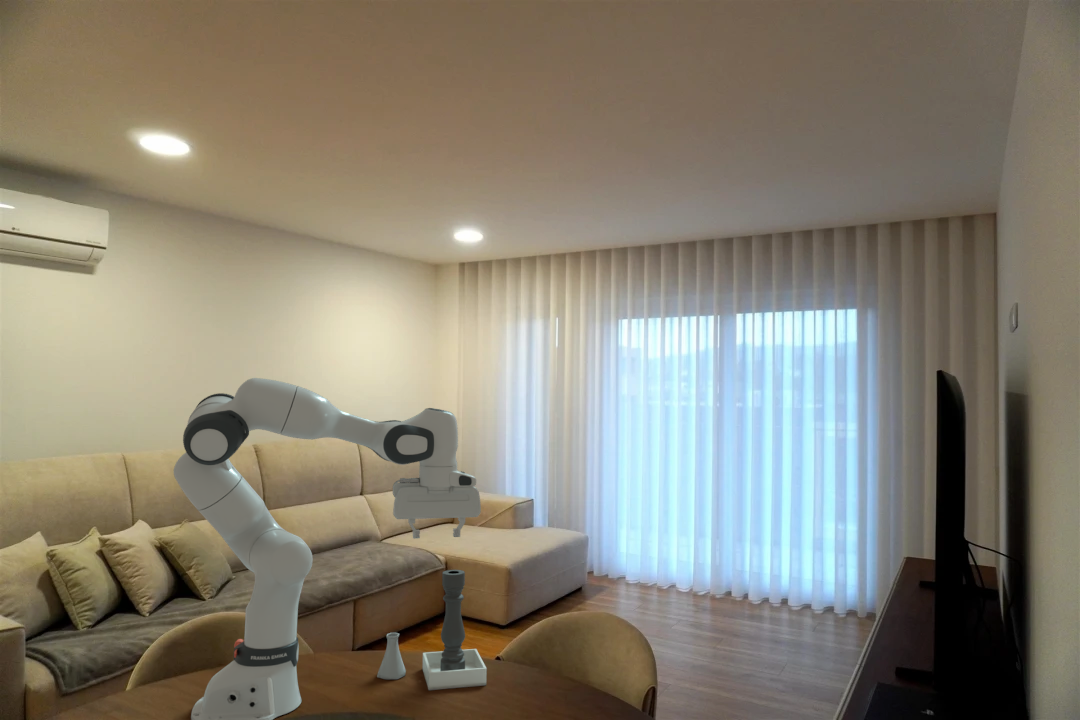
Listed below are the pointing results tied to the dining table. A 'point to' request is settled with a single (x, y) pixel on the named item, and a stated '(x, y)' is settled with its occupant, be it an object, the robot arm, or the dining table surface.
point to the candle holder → (453, 621)
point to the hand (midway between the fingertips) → (436, 537)
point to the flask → (392, 660)
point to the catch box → (454, 671)
